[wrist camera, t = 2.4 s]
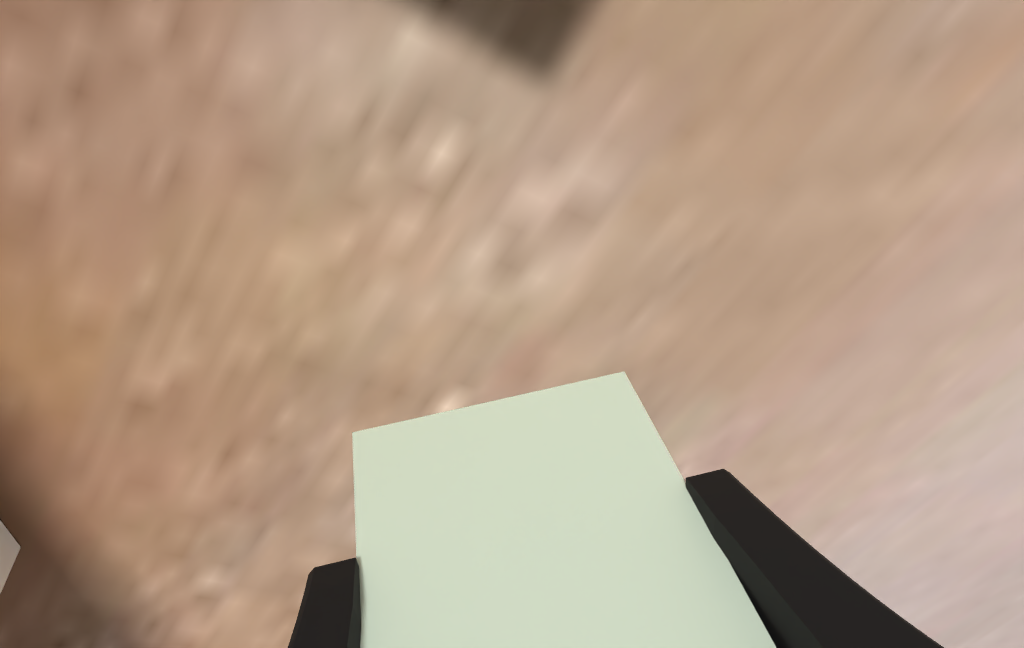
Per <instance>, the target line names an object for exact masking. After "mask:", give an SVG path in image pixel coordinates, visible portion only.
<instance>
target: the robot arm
mask: <svg viewBox="0 0 1024 648" xmlns="http://www.w3.org/2000/svg"><path fill="white" fill-rule="evenodd" d="M686 489H687V491H688V493H689V494H690V496H691V498H692V500H693V502H694V504H695V505H696V507H697V509H698V511H699V513H700V515H701V516H702V518H703V520H704V522H705V524H706V526H707V527H708V529H709V531H710V533H711V535H712V536H713V538H714V540H715V541H716V543H717V544H718V546H719V547H720V549H721V550H722V552H723V553H724V555H725V556H726V558H727V559H728V561H729V563H730V564H731V566H732V568H733V570H734V572H735V573H736V575H737V577H738V579H739V581H740V583H741V584H742V586H743V588H744V590H745V592H746V593H747V595H748V597H749V599H750V601H751V602H752V604H753V606H754V608H755V610H756V612H757V613H758V615H759V617H760V619H761V621H762V622H763V624H764V626H765V628H766V630H767V632H768V633H769V635H770V637H771V639H772V641H773V642H774V644H775V646H776V648H944V647H942V646H941V645H939V644H938V643H937V642H935V641H934V640H932V639H931V638H929V637H928V636H927V635H925V634H924V633H922V632H921V631H920V630H918V629H917V628H915V627H914V626H913V625H911V624H910V623H908V622H907V621H906V620H904V619H903V618H902V617H900V616H899V615H898V614H896V613H895V612H894V611H892V610H891V609H890V608H888V607H887V606H886V605H884V604H883V603H882V602H880V601H879V600H878V599H876V598H875V597H874V596H872V595H871V594H870V593H869V592H867V591H866V590H865V589H863V588H862V587H861V586H860V585H858V584H857V583H856V582H855V581H853V580H852V579H851V578H850V577H848V576H847V575H846V574H845V573H843V572H842V571H841V570H840V569H839V568H837V567H836V566H835V565H834V564H833V563H831V562H830V561H829V560H828V559H826V558H825V557H824V556H823V555H822V554H820V553H819V552H818V551H817V550H815V549H814V548H813V547H812V546H811V545H810V544H808V543H807V542H806V541H805V540H804V539H803V538H801V537H800V536H799V535H798V534H797V533H796V532H794V531H793V530H792V529H791V528H790V527H789V526H788V525H787V524H785V523H784V522H783V521H782V520H781V519H780V518H779V517H777V516H776V515H775V514H774V513H773V512H772V511H771V510H770V509H769V508H767V507H766V506H765V505H764V504H763V503H762V502H761V501H760V500H759V499H758V498H756V497H755V496H754V495H753V494H752V493H751V492H750V491H749V490H748V489H747V488H746V487H745V486H743V485H742V484H741V483H740V482H739V481H738V480H737V479H736V478H735V477H734V476H733V475H732V474H731V473H729V472H728V471H726V470H725V469H721V470H716V471H712V472H708V473H704V474H700V475H696V476H692V477H687V478H686ZM360 640H361V605H360V577H359V565H358V562H357V559H356V558H352V559H348V560H344V561H340V562H336V563H331V564H327V565H323V566H319V567H315V568H314V569H313V570H312V571H311V572H310V574H309V575H308V579H307V583H306V588H305V592H304V595H303V599H302V603H301V606H300V610H299V613H298V617H297V620H296V623H295V627H294V630H293V633H292V636H291V639H290V643H289V646H288V648H360Z"/></svg>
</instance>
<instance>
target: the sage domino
mask: <svg viewBox="0 0 1024 648" xmlns="http://www.w3.org/2000/svg"><path fill="white" fill-rule="evenodd" d="M352 437H353V468H354V498H355V528H356V558H357V562H358V565H359V577H360V605H361V640H360V648H776V646H775V644H774V642H773V641H772V639H771V637H770V635H769V633H768V632H767V630H766V628H765V626H764V624H763V622H762V621H761V619H760V617H759V615H758V613H757V612H756V610H755V608H754V606H753V604H752V602H751V601H750V599H749V597H748V595H747V593H746V592H745V590H744V588H743V586H742V584H741V583H740V581H739V579H738V577H737V575H736V573H735V572H734V570H733V568H732V566H731V564H730V563H729V561H728V559H727V558H726V556H725V555H724V553H723V552H722V550H721V549H720V547H719V546H718V544H717V543H716V541H715V540H714V538H713V536H712V535H711V533H710V531H709V529H708V527H707V526H706V524H705V522H704V520H703V518H702V516H701V515H700V513H699V511H698V509H697V507H696V505H695V504H694V502H693V500H692V498H691V496H690V494H689V493H688V491H687V489H686V483H685V481H684V479H683V477H682V475H681V474H680V472H679V470H678V468H677V466H676V465H675V463H674V461H673V459H672V457H671V456H670V454H669V452H668V450H667V448H666V446H665V445H664V443H663V441H662V439H661V437H660V436H659V434H658V432H657V430H656V428H655V426H654V425H653V423H652V421H651V419H650V417H649V416H648V414H647V412H646V410H645V408H644V407H643V405H642V403H641V401H640V399H639V397H638V396H637V394H636V392H635V390H634V388H633V387H632V385H631V383H630V381H629V379H628V378H627V376H626V374H625V372H620V373H615V374H611V375H606V376H602V377H598V378H593V379H589V380H584V381H580V382H575V383H571V384H566V385H562V386H557V387H553V388H549V389H544V390H540V391H535V392H531V393H526V394H522V395H517V396H513V397H508V398H504V399H500V400H495V401H491V402H486V403H482V404H477V405H473V406H468V407H464V408H459V409H455V410H451V411H446V412H442V413H437V414H433V415H428V416H424V417H419V418H415V419H410V420H406V421H402V422H397V423H393V424H388V425H384V426H379V427H375V428H370V429H366V430H361V431H357V432H352Z"/></svg>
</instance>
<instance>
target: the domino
mask: <svg viewBox="0 0 1024 648" xmlns="http://www.w3.org/2000/svg"><path fill="white" fill-rule="evenodd" d="M20 548H21V547H20V545H19V544H18V543H17V542H16V540H15V539H14V538H13V536H12V535H11V534H10V532H9V531H8V530H7V528H6V527H5V526H4V524H3V523H2V522H1V520H0V594H1V591H2V589H3V587H4V584H5V582H6V580H7V578H8V575H9V573H10V571H11V568H12V566H13V564H14V562H15V559H16V557H17V555H18V552H19V550H20Z"/></svg>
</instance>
